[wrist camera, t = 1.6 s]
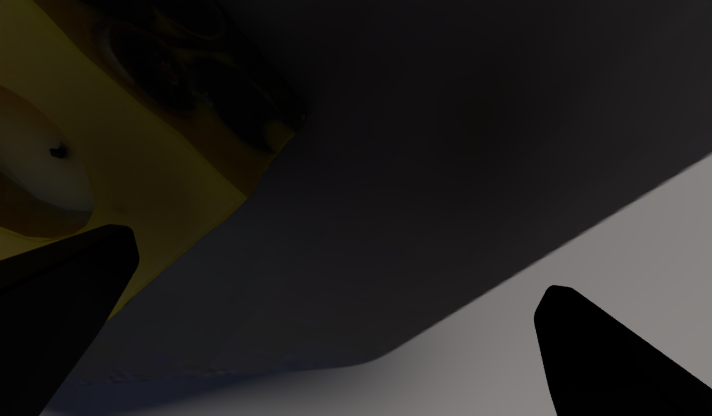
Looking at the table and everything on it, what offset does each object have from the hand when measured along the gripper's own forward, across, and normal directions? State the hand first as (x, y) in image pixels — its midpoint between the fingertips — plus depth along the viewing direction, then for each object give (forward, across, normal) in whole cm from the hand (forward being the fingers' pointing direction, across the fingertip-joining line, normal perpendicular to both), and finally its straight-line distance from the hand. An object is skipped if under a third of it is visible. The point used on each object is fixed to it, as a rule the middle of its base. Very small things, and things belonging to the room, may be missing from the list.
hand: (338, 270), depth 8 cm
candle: (+12, +10, 0) cm, 16 cm away
